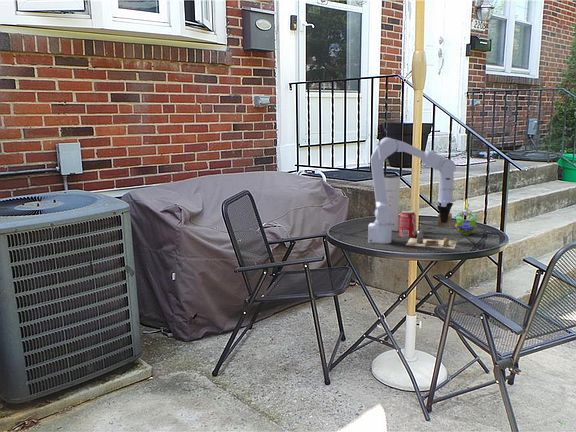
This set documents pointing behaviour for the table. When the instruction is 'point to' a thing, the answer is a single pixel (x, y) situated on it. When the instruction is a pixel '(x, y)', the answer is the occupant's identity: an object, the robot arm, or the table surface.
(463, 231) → the toy helicopter
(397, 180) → the white tumbler
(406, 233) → the soda can
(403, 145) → the robot arm
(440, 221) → the block
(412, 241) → the board
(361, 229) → the table surface
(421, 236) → the peg
